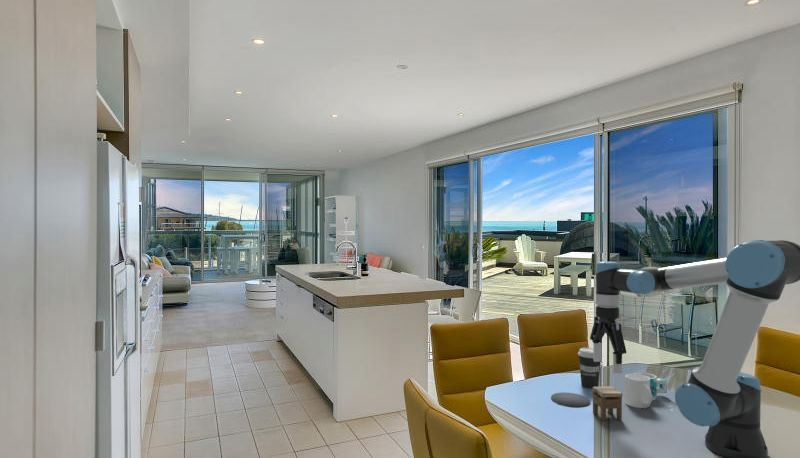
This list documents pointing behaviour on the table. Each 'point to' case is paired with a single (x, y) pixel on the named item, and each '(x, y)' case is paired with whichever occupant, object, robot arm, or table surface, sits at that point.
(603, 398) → the stool
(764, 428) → the table surface
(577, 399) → the mat
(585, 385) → the coffee cup
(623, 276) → the robot arm
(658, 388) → the mug
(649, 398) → the mug
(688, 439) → the table surface
